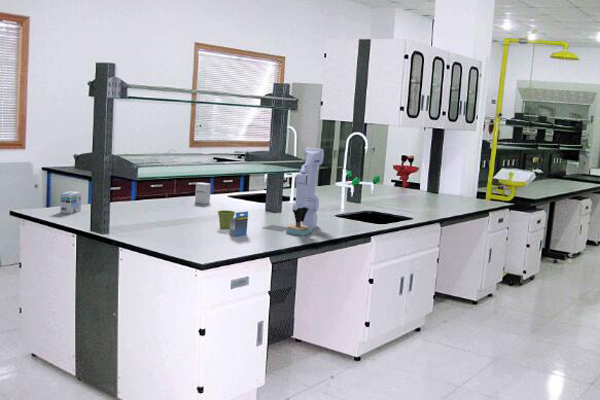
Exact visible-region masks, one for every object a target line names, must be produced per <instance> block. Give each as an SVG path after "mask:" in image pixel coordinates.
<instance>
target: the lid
mask: <svg viewBox="0 0 600 400" xmlns="http://www.w3.org/2000/svg"><path fill="white" fill-rule="evenodd" d="M301 223H302V222H301V221H300V223H297V222H296V221H295V223H290V224H287V226H286V227H287V228H289V229H292V230H308V226H306V225H301Z"/></svg>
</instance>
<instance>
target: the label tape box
mask: <svg viewBox="0 0 600 400" xmlns="http://www.w3.org/2000/svg"><path fill="white" fill-rule="evenodd" d="M248 221H249V211H248V210H247V211H239V212H235V217H233V219H231V221H230V228H229V236H231V237H238V236H240V237H241V236H245V235H247V232H248Z"/></svg>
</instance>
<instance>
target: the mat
mask: <svg viewBox="0 0 600 400" xmlns="http://www.w3.org/2000/svg"><path fill="white" fill-rule="evenodd" d="M287 227H288V226H282V225H275V224H271V225H267V226H264V227H262V229H263V230H264V229H265V230H270V231H276V232H284V231H286V228H287Z"/></svg>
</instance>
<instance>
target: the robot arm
mask: <svg viewBox="0 0 600 400" xmlns="http://www.w3.org/2000/svg"><path fill="white" fill-rule="evenodd" d="M324 153H325V152H324V149H323V148H314V147H305V149H304V154H303V155H304V159H305V163H304V164H302V165H301V168H300V169H299V172H298V173H296V176H295V187H296V190H295V191H296V192H295V193H296V194H295V203H293V206H292V212H293V215H294V219H295V223H296V222H297V223H300V221H301V225H306V226H308V228H312V230H313V229H315V228H318V227H319V225H317V223H318V213H317V212H318V211H319V207H320V206H319V205H320V199H319V197H318V196H317V195H316V189H317V188H316V187H317V180H318V173H319V168H320V166H321V165H322V164H323V162H324V157H325V156H324V155H325V154H324Z"/></svg>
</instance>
